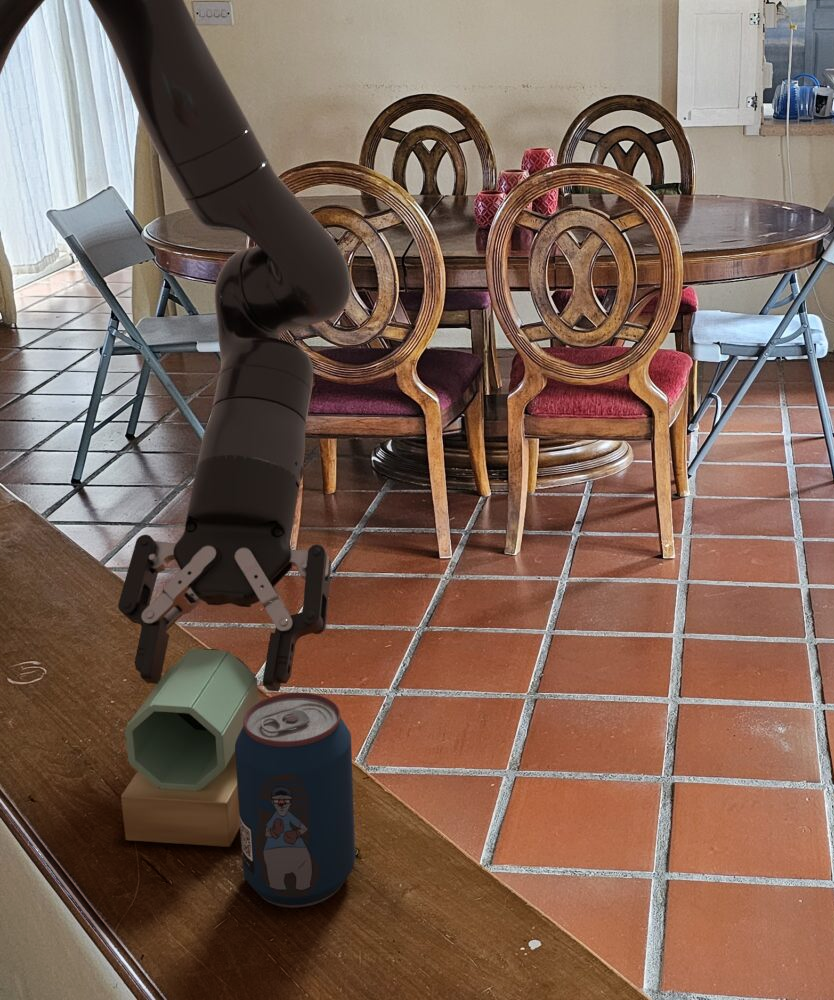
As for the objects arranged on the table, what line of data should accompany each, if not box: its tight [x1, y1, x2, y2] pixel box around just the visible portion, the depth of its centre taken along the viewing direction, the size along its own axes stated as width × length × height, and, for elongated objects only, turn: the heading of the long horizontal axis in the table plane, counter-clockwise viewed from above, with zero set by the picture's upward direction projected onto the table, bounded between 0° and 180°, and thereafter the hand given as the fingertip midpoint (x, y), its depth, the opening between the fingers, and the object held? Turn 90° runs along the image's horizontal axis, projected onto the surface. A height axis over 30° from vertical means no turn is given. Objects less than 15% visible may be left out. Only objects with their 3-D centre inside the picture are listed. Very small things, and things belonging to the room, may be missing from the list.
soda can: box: [235, 691, 356, 909], centre depth 81 cm, size 7×7×12 cm
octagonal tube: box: [124, 648, 260, 791], centre depth 88 cm, size 8×6×6 cm
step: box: [120, 752, 240, 848], centre depth 89 cm, size 10×7×4 cm
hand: (210, 684), depth 90 cm, fingers open, 8 cm apart
